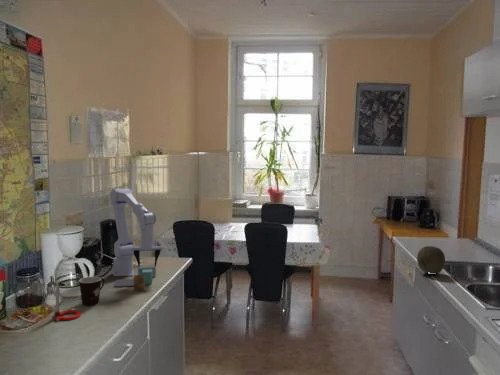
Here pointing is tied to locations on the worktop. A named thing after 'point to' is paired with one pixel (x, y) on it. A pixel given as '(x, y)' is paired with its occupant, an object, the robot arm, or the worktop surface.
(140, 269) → the control box
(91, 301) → the coffee mug
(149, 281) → the teal block
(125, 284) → the mat
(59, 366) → the worktop surface
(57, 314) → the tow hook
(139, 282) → the walnut block
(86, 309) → the worktop surface
